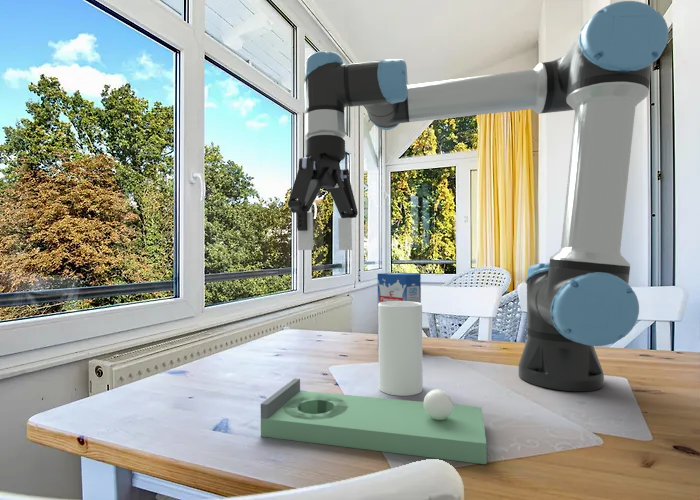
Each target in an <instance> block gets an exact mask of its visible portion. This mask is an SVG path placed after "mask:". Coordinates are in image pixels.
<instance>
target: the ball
mask: <svg viewBox="0 0 700 500" xmlns="http://www.w3.org/2000/svg"><path fill="white" fill-rule="evenodd" d="M423 402H424V403H423V404H424V409H425V411H426V413H427V414H428V415H429V416H430V417H431V418H433V419H436V420H443V419H446V418H447V417H448V416H449V415H450V414H451V412H452V410H453V405H454V402H453V399H452V397H451V395H450V394H449V393H447V392H446V391H445V390H443V389H439V388H435V389H431V390H429V391H428V392H427V393H426V395H425V396H424V398H423Z"/></svg>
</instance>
